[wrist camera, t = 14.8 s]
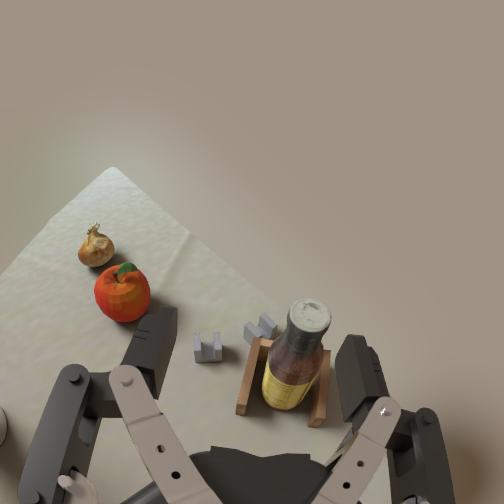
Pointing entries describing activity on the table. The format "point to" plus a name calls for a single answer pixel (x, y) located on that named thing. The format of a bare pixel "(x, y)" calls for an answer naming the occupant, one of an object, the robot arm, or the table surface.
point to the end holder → (319, 384)
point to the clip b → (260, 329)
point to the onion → (96, 248)
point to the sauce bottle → (296, 355)
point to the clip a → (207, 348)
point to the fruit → (122, 292)
